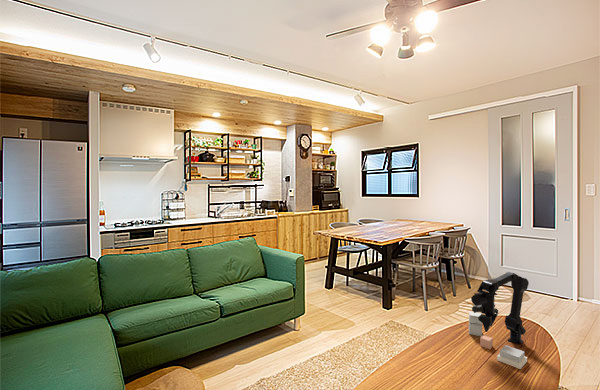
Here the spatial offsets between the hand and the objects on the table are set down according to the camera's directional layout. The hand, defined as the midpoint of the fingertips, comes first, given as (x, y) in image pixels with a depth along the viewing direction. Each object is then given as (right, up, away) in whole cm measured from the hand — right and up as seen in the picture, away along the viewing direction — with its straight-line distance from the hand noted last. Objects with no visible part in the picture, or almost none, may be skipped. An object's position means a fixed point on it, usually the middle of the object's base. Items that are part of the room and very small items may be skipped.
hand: (488, 328), depth 185 cm
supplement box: (+2, -11, +18) cm, 21 cm away
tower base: (+5, -12, -13) cm, 19 cm away
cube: (0, -11, +2) cm, 11 cm away
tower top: (+5, -9, -14) cm, 17 cm away
